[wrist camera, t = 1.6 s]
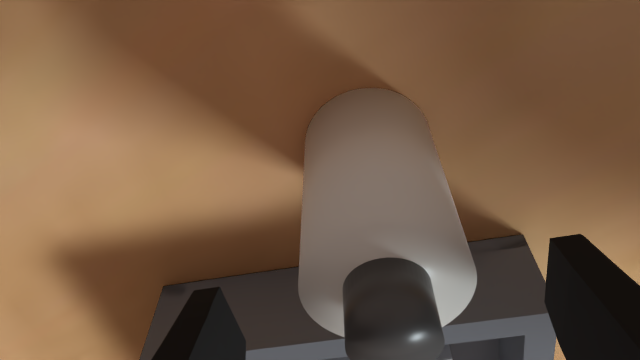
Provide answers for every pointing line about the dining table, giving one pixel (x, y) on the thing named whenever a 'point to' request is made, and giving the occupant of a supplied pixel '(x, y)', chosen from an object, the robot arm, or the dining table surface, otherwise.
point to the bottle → (380, 230)
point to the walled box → (329, 348)
